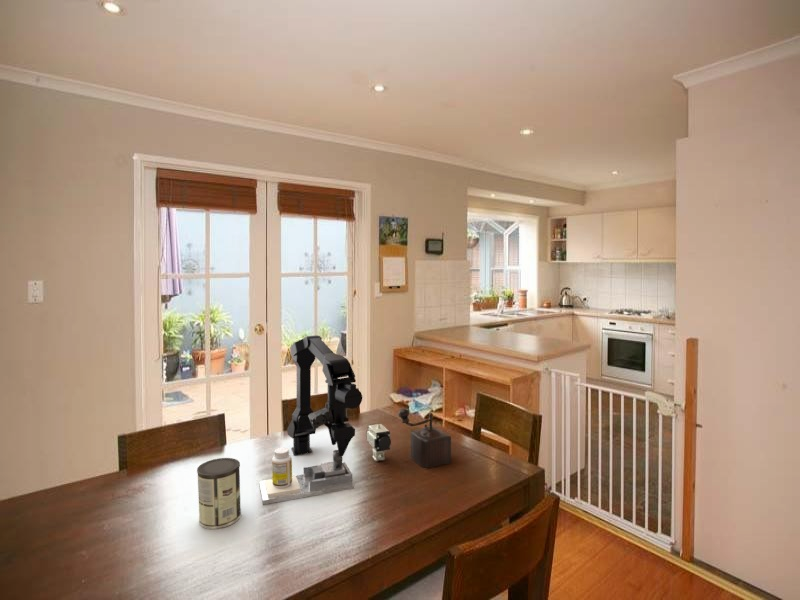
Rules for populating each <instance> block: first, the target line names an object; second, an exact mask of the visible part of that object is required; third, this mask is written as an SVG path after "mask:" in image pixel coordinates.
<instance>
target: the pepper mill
mask: <svg viewBox="0 0 800 600" xmlns="http://www.w3.org/2000/svg"><path fill="white" fill-rule="evenodd" d="M397 414H398V417H399V418H400V419H401V423H402V424H406V425H408V426H410V427H417V426H421V425H423V424H425V425H424V427H422V428H419V429H418V430H417V429H416V430H412V431H410V456H409V457H410V458H411V459H412V461H413V460H414V462H415V463H416V464H417V465H418V466H419V465H420V466H419V467H421V468H422V469H424V468H427V469H432V467H433V468H438V467H441V465H442V466H446V465H449V464H451V463H452V461H451V460H452V436H451V435H449V434H448V433H446V432H445V431H443V430H442V429H440V428H438V427H436V426H433V420H434V414H433V413H432V412H430V413H428V418H427V419H425V420H422V421H420V422H419V421H418V422H415V423H413V422H410V419H409V415H410V411H409V409H407V408H405V407H404V408H401V409H400V410H398V412H397ZM428 422H429V426H428V424H426V423H428Z"/></svg>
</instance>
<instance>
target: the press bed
mask: <svg viewBox="0 0 800 600" xmlns="http://www.w3.org/2000/svg"><path fill="white" fill-rule="evenodd" d="M296 476H297V475H296V474H295V475H292V483H291V484H290V485H289V486H287V487H284V488H277V487H274V486H273V480H272V478H270V479H265V480H264V481H265V485H266V490H267V495H268V497H271V496H277V495H282V494H288V493H294V492H300V486H299V483H298V480H297V478H296Z"/></svg>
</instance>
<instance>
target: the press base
mask: <svg viewBox="0 0 800 600" xmlns="http://www.w3.org/2000/svg"><path fill="white" fill-rule="evenodd" d="M342 465H343V467H344V468H345V475H339V476H333V477H327V478H321V479H315V480H313V478H312V468H313V467H319V466H321V464H319V465H313V466H307V467H306V466H305V467H303V474H298V475H296V478H297V480H298V483H299V486H300V492H294V493H288V494H282V495H277V496H271V497H268V495H267V490H266V485H265V480H260V481H259V489H260V495H261V501H262V505H268V504H274V503H280V502H286V501H287V502H288V501H290V500H297V499H298V500H299V499H302V498H309V497H314V496H320V495H325V494H330V493H336V492H337V493H338V492H343V491H346V490H348V491H349V490H353V489H355V484H354V482H353V481H354V480H353V473H352V471H351V470H350V468H349V467H348V464H347V463H346V462H345V461H344V462H343V461H342Z"/></svg>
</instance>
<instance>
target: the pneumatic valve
mask: <svg viewBox="0 0 800 600" xmlns="http://www.w3.org/2000/svg"><path fill="white" fill-rule="evenodd" d="M365 437H366V439H365V440H366V441H367V443H368V444H369V445H370V446H371V447H372V459H373V460H374V461H375V462H376V463H377V462H379V461H385V460H386V458H385V455H386V451H389V450H390V449H391V448H390V447H391V443H392V440H391V432H390V430H389V429H388V428H386V427H385V425H383V424H382V423H381V422H379V423H378V422H377V423H372V424H367V430H366V434H365Z"/></svg>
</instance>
